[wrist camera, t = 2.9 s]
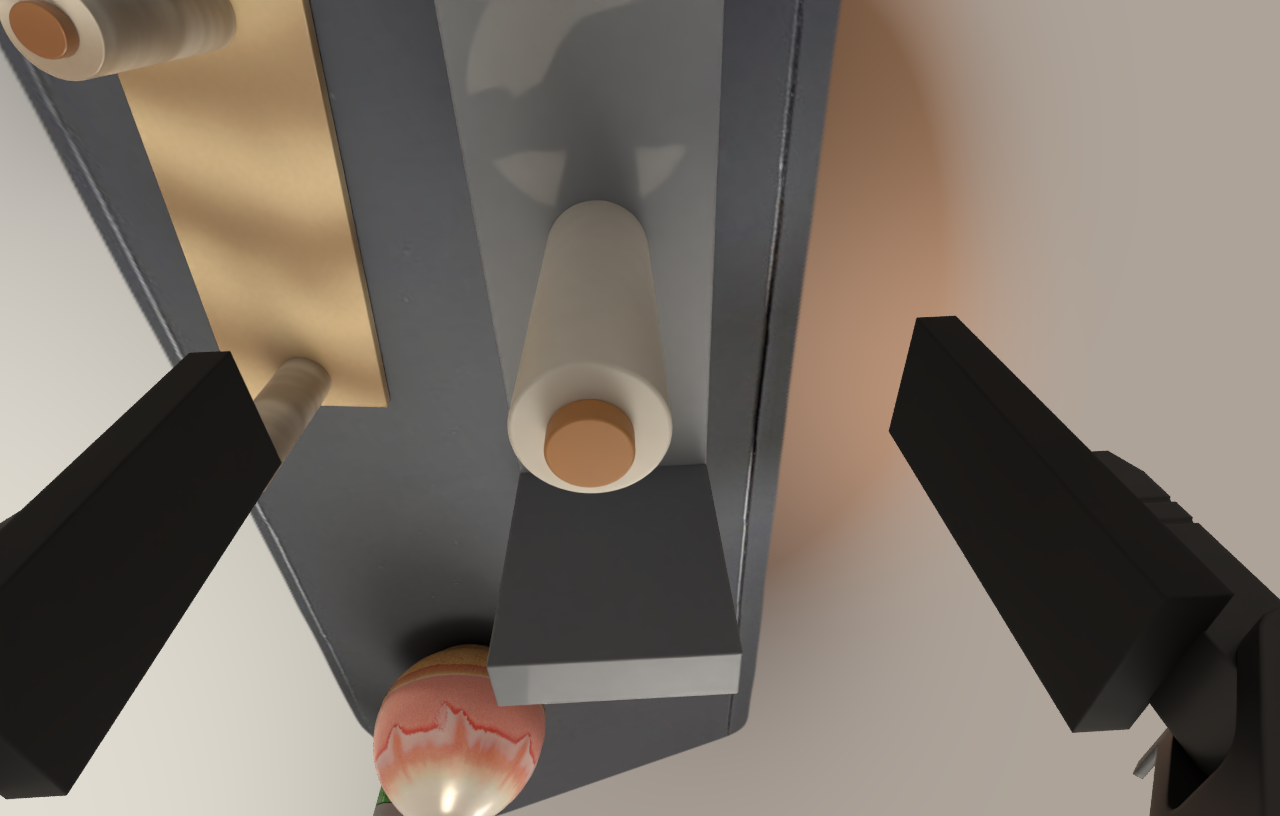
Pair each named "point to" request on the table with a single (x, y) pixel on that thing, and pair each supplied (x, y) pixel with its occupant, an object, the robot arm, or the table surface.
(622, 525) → the grey stand
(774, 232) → the table surface
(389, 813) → the battery
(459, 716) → the vase
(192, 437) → the robot arm
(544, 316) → the white cell
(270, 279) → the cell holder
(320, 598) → the table surface
